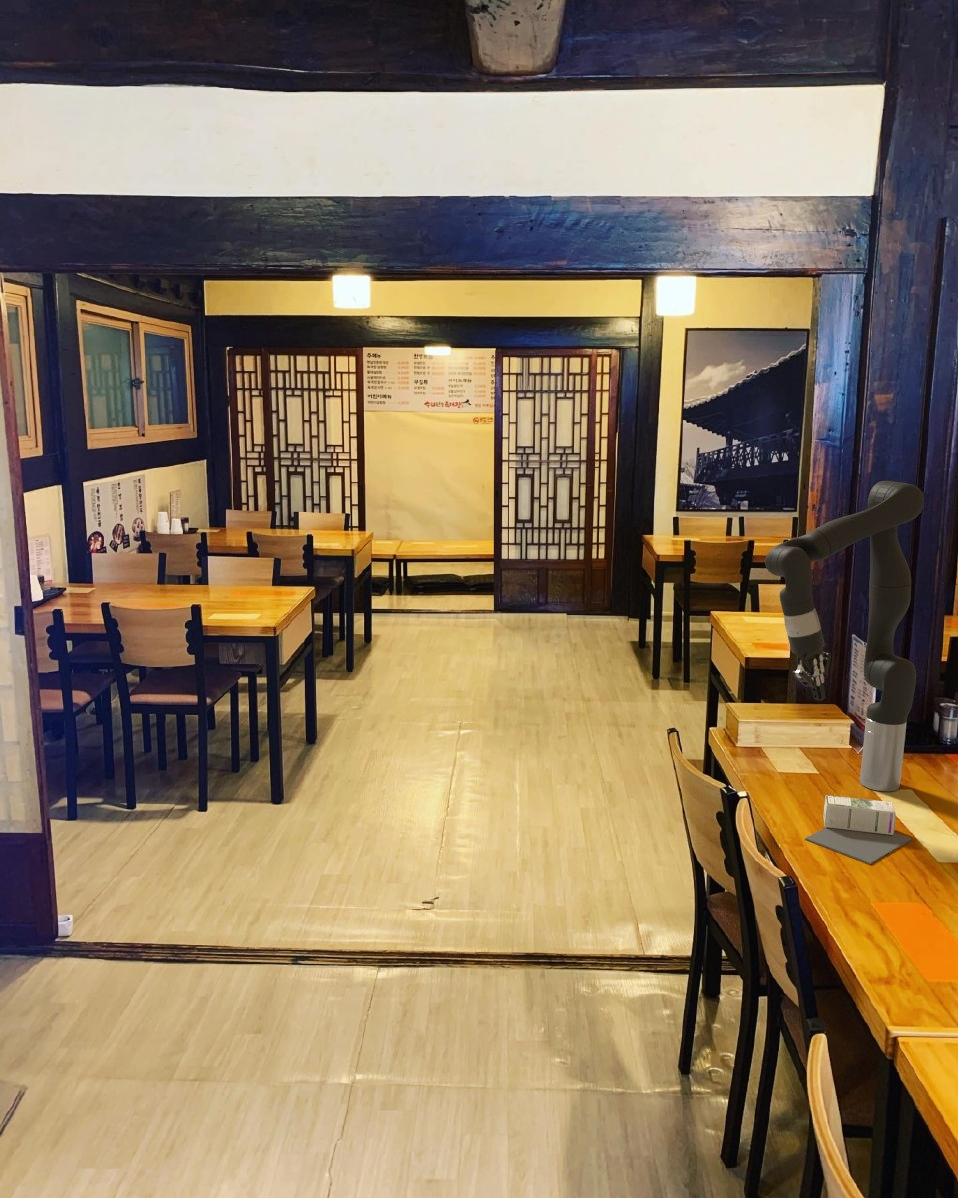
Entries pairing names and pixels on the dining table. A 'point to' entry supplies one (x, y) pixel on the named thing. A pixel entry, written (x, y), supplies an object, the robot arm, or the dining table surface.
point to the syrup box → (859, 815)
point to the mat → (858, 843)
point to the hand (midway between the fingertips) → (820, 699)
